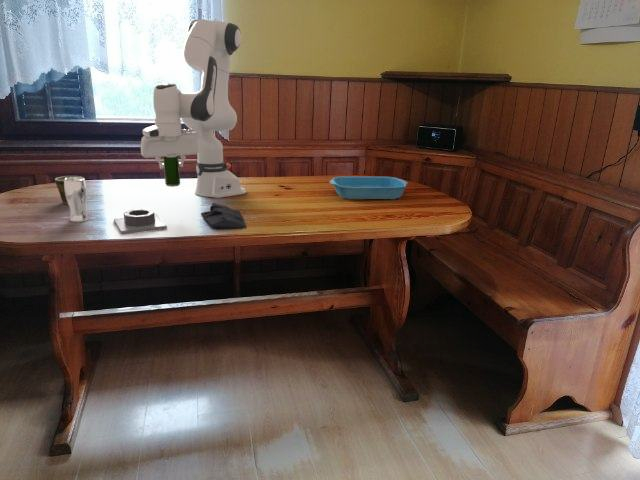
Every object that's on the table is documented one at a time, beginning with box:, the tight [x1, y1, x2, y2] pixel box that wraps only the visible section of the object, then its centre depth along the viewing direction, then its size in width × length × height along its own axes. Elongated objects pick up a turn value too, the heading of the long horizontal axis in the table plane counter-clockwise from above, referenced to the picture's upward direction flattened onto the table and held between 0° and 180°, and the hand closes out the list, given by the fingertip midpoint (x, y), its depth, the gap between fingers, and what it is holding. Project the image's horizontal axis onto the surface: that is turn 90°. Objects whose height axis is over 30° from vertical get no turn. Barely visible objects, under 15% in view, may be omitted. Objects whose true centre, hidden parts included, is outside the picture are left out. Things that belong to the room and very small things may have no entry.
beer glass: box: [64, 176, 90, 223], centre depth 172 cm, size 7×7×15 cm
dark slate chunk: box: [200, 202, 247, 229], centre depth 181 cm, size 15×22×5 cm
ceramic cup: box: [54, 175, 82, 206], centre depth 194 cm, size 13×10×10 cm
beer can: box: [162, 154, 181, 188], centre depth 179 cm, size 5×5×12 cm
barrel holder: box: [113, 208, 168, 235], centre depth 171 cm, size 15×15×5 cm
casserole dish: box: [329, 175, 408, 200], centre depth 227 cm, size 37×22×7 cm, turn 99°
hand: (171, 167), depth 179 cm, fingers closed on beer can, 5 cm apart
